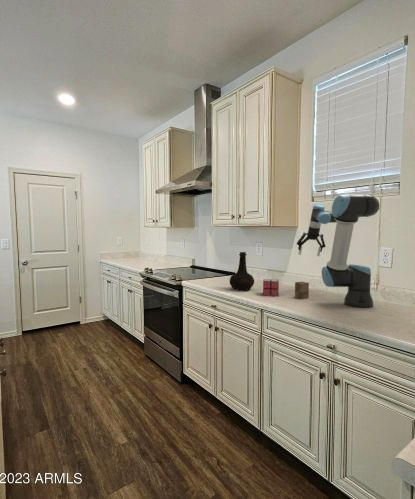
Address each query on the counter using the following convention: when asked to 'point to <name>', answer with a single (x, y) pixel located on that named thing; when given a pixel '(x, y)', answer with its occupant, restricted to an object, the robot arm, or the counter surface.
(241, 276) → the dark bulbous vase
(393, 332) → the counter surface
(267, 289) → the puzzle cube
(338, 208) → the robot arm
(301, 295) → the walnut block
